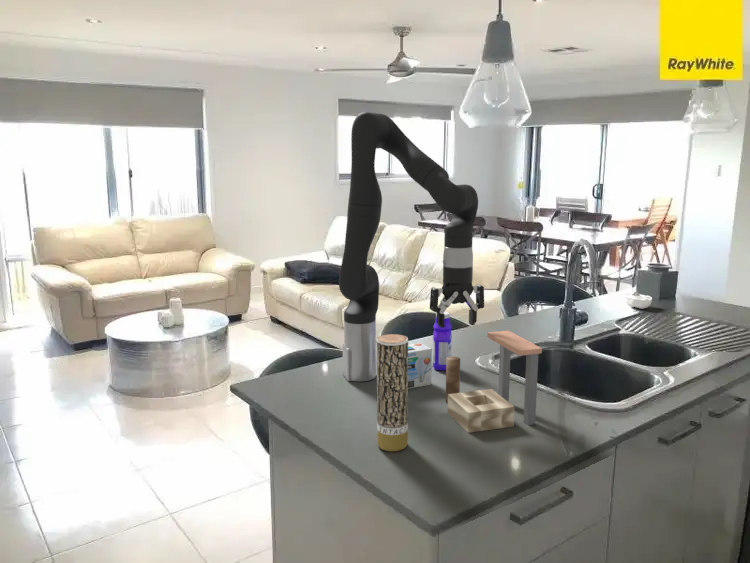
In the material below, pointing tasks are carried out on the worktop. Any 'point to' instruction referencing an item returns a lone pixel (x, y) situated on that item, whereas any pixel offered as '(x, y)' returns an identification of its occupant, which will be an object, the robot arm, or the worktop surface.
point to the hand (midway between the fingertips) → (456, 325)
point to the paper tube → (392, 392)
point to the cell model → (638, 300)
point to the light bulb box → (419, 365)
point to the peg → (452, 376)
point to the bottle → (442, 343)
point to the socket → (480, 410)
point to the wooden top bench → (531, 351)
